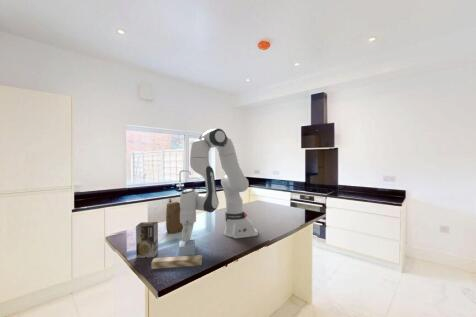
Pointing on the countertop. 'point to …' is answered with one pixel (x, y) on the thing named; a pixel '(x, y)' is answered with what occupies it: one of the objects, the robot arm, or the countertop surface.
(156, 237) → the coffee box
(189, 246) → the blue block
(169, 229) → the block
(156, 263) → the oak board
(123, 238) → the countertop surface
